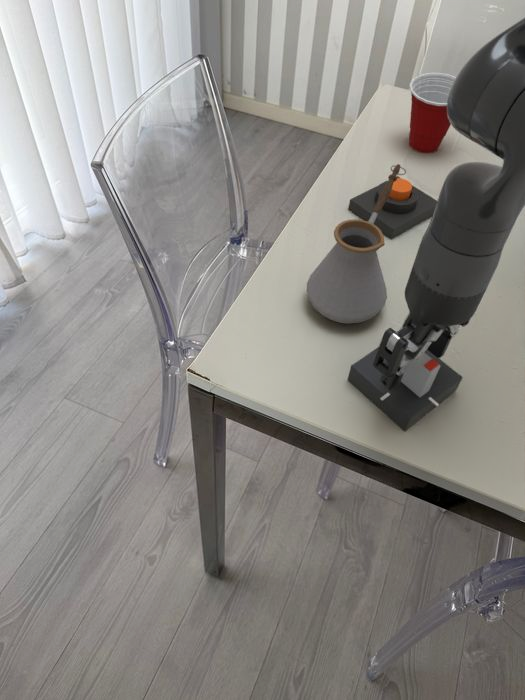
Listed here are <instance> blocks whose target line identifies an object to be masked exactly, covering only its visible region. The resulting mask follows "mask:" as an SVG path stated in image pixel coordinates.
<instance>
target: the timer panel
mask: <svg viewBox="0 0 525 700" xmlns="http://www.w3.org/2000/svg"><path fill="white" fill-rule="evenodd" d="M408 340H409V339H408ZM409 341H410V342H412V341H411V340H409ZM412 343H413V342H412ZM413 344H414V343H413ZM414 345H415V346H417V345H416V344H414ZM417 347H419V346H417ZM378 349H379V346H378V347H377V348H375V349H373V350H372V351H370V352H369V353H368V354H366V355H364V356H363V357H361V358H360V359H359V360H357V361H355V363H353V364H351V365H350V369H349V372H348V376H347V381H348V382H349V383H351V385H353V386H354V387H355V388H356V389H357V390H358V391H359V392H360V393H361V394H363V395H364V396H365V397H366V398H367V399H368V400H369V401H370V402H372V404H373V405H375V406H376V407H377V408H378V409H379V410H380V411H381V412H383V414H385V415H386V416H387V418H389V419H390V420H391V421H392V422H394V423H395V424H396V425H397V426H398V427H399V428H400V429H401V430H402V431H404V432H406V431H408V430H409V429H410V428H412V426H414V425H415V424H416V423H418V422H419V421H420V420H421V419H423V418H424V417H425V416H426V415H428V414H429V413H430V412H431V411H433V410H434V409H435V408H436V407H439V406H440V404H442V403H443V402H444V401H446V399H448V398H450V396H452V395H453V394H454V393H456V392H457V390H458V387H459V386H460V384H461V382H462V380H463V376H462V375H461V374H459V373H458V372H456V370H454V369H453V368H452V367H451V366H449V365H448V364H447V363H445V362H444V361H443V360H442V359H441V358H437V357H436V356H435V355H433V354H432V353H431V352H429V351H428V349H427V350H426V351H425V352H424V353H425V354H427V355H428V356H429V357H430V358H432V359H434V360H435V361H436V362H438V363H439V365H440V368H439V371H438V373H437V375H436V377H435V379H434V381H433V384H432V386H431V388H430V390H429V391H428V392H427V393H426V394H424V395H423V396H422V397H418V396H417V395H416V394H415V393H414V392H413V391H411V390H410V389H409V388H408V387H407V386H406V385H404V384H403V383H402V382H400V385H399V387H398V389H397V390H395V391H394V392H391V391H390V390H388V389H387V388H385V387H384V386H383V385H382V384H381V383H380V379H381V376H382V374H381V373H380V372H379V371H378V370H377V369H376V368H374V367H373V362H374V360H375V357H376V354H377V351H378Z"/></svg>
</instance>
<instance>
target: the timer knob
mask: <svg viewBox="0 0 525 700" xmlns="http://www.w3.org/2000/svg"><path fill="white" fill-rule="evenodd" d="M407 341H408V342H409V344H408V346H409V347H410V348H411V349H412V350H414V351H416V350H417V348H418V347H417V346H415V345H414V344H413V343H412V342H410V341H409V340H407ZM404 359H405V355H404V356H403V358H402V361H401V363H402V362H403V360H404ZM439 368H440V365H439V363H438V362H436V361H435V360H434V359H432V358H430V357H429V356H428V355H427V354H425V353H423V355H422V356H421V357H420V359H419V360H413V361H412V362H411V363H410V364H409V366H408V367H407V368H406V370H405V372H404V374H403V377H402V379H401V382H402V383H403V384H404V385H406V386H407V387H408V388H409V389H410V390H411V391H413V392H414V393H415V394H416V395H417V396H418V397H422V396H423V395H424V394H426V393H427V392H428V391H429V390H430V388H431V386H432V384H433V381H434V379H435V377H436V375H437V373H438V371H439Z"/></svg>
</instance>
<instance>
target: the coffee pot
mask: <svg viewBox="0 0 525 700" xmlns="http://www.w3.org/2000/svg"><path fill="white" fill-rule="evenodd" d="M401 169H402V171H404V172H403V173H400V170H401ZM390 171H391V172H392V173H391V174H389V175H388V176H387V178H388V180H387V181H388V182H387V183H386V185H385V186H384V187H383V189H382V191H381V193H380V196H379V198H378V200H377V203H376V205H375V208H374V210H373V212H372V215H371V217H370V219H369V221H364V220H362V219H355V218H353V219H346V220H343V221H341V222H340V223H338V224H337V226H335V228H334V230H333V237H334V240H335V242H336V243H335V244H334V245H333V247H332V248H331V249H330V250H329V251H328V253H327V254H326V256H325V257H324V258H323V259H322V260H321V262H320V263H319V264H318V265H317V267H315V269H314V270H313V272H311V274H310V275H309V278H308V280H307V282H306V294H307V297H308V300H309V302H310V304H311V305H312V307H313V308H314V309H315V311H317V312H318V313H319V314H320V315H322V316H323V317H325V318H327V319H328V320H331V321H333V322H336V323H339V324H357V323H362V322H365V321H368V320H371V319H373V317H375V316H376V315H378V313H380V312H381V310H382V309H383V308H384V307H385V305H386V302H387V299H388V292H387V286H386V282H385V279H384V275H383V271H382V267H381V263H380V259H379V256H378V252H377V251H378V250H380V249H381V248H382V247H384V246H385V245H386V244H385V237H384V236H385V235H384V234H382V232H381V230H380V229H379V228H378V227H377V226H376V225H374V222H375V220H376V217H377V215H378V214H379V213H380V211H381V209H382V207H383V205H384V204H385V202H386V200H387V198H388V196H389V195H390V193H391V189H392V186H393V183H394V182H395V181H396V180H397V177H396V176H405V175H406V173H407V170H406V169H405V168H404V167H403V166H402V165H401V164H399V163H397V164H394V165H391V167H390Z"/></svg>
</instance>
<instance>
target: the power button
mask: <svg viewBox="0 0 525 700" xmlns="http://www.w3.org/2000/svg"><path fill="white" fill-rule="evenodd" d="M412 185H413V184H412V183H411V182H410V181H409V180H407V179H406V178H405V179H404V178H401V177H400V178H397V180H396V181H395V182H394V183H393V186H392V189H391V193H390V195H389V196H388V197H390V198H391V199H394V200H398V201H401V200H407V199H408V198H409V197H410V193H411V190H412Z"/></svg>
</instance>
